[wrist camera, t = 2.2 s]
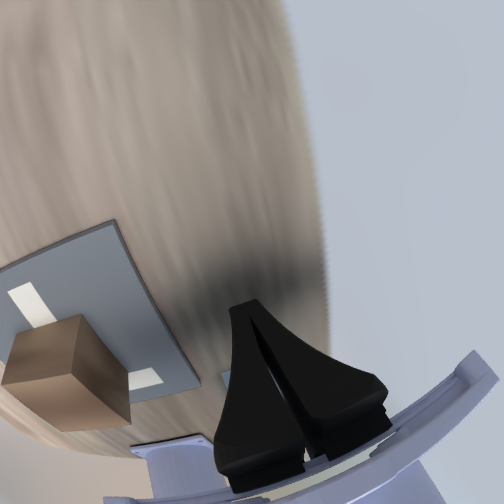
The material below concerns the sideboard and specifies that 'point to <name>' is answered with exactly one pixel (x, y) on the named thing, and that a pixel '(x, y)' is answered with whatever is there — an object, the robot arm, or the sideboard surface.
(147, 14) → the sideboard surface
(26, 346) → the walnut block
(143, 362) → the letter card
